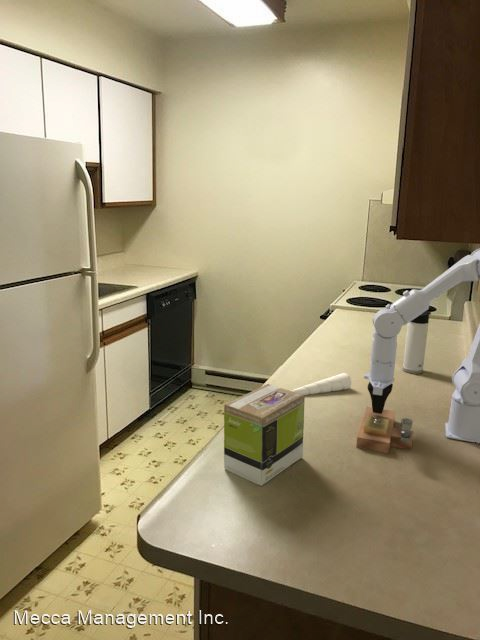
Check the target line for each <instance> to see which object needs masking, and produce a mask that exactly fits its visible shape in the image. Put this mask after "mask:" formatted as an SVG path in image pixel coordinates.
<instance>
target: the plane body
mask: <svg viewBox="0 0 480 640" xmlns="http://www.w3.org/2000/svg"><path fill="white" fill-rule="evenodd" d="M367 416H371V417H377V418H383V419H388V420H389V424H388V430H387V434H386V436H381V435H376V434H370V433H365V432H364V425H365V422H366V418H367ZM395 416H396V411H395V410H388V409H383V412H382V414H379V413H373V410H372V406H366V408H365V412H364V415H363V418H362V420H361V425H360V426H359V431H358V434H357V436H356V437H357V438H356V447H355V448H358V449H365V450H368V451H375V452H380V453H384V454H389V453H390V447H394V448H398V449H399V448H400V449H406V450H410V451H411V450H412V445H413V437H414V436H413V435H414V431H413V430H411V437H410V442H406V441H401V430H402V428H396V427H394V425H395V418H396V417H395Z"/></svg>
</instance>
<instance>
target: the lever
mask: <svg viewBox="0 0 480 640" xmlns="http://www.w3.org/2000/svg"><path fill="white" fill-rule="evenodd" d="M400 421H401V422H400V427H401V429H402V430H401V441H406V442H410V437H411V431H412V430H411V429H412V428H413V420H412V419H410V418H406V417H405V418H403V417H402V418H401V420H400Z"/></svg>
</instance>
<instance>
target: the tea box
mask: <svg viewBox="0 0 480 640" xmlns="http://www.w3.org/2000/svg"><path fill="white" fill-rule="evenodd" d="M305 396H306V395H303V394H300V393H296V392H293V391H292V390H288V389H285V388H282V387H279V386H276V385H271V384H270V383H267V384H265V385H262V386H260V387H258V388H255V389H254V390H252V391H250V392H248V393H245V394H244V395H241V396H239V397H237V398H235V399H233V400H231V401H230V402H227V403H225V404H224V405H223V407H224V408H223V422H224V423H223V424H224V425H223V436H224V438H223V468H224V470H225V471H227V472H230V473H232V474H234V475H236V476H238V477H240V478H242V479H245V480H247V481H249V482H250V483H253V484H256V485H258V486H261V487H262V486H263V485H265V484H266V483H267V482H269V481H271V480H272V479H273V478H275V477H276V476H278V475H279V474H281V473H282V472H284V471H285V470H286V469H288V468H289V467H290V466H292V465H293V464H295V463H296V462H298V461H299V460H300V459H301V458H303V455H304V454H303V452H304V451H303V450H304V428H305V427H304V425H305V400H306V399H305V398H306V397H305Z"/></svg>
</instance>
